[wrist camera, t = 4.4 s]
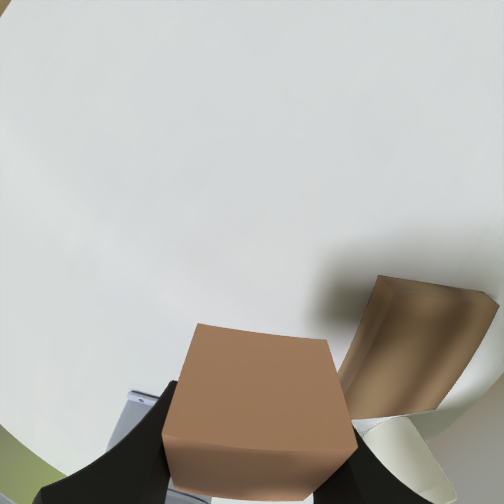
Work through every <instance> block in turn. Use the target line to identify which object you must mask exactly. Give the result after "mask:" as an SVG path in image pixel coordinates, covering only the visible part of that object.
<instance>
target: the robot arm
mask: <svg viewBox="0 0 504 504" xmlns="http://www.w3.org/2000/svg"><path fill="white" fill-rule="evenodd" d="M177 383H178V381H174V380H173V381H170V383H169V384H168V386H167V388H166V389H165V390H164V392H163V393H162V395H161V396H160V398H159V399H156V398H152V397H148V396H145V395H141V394H138V393H134V392H128V394H127V398H128V400H127V403H126V405H125V407H124V409H123V411H122V413H121V416H120V418H119V420H118V422H117V425H116V427H115V429H114V431H113V434H112V436H111V438H110V441H109V443H108V446H107V449H106V453H105V454H104V455H102V456H101V457H100V458H98V459H97V460H95V461H94V462H92V463H91V464H89V465H88V466H86V467H85V468H83V469H81V470H79V471H77V472H76V473H74V474H72V475H70V476H68V477H66V478H64V479H62V480H60V481H57V482H55V483H52V484H50V485H47V486H45V487H42V488H41V489H40V491H39V492H38V494H37V495H36V497H35V498H34V501H33V503H32V504H211V500H212V497H211V496H204V495H198V494H193V493H188V492H183V491H178V490H174V486H173V482H172V478H171V474H170V470H169V466H168V462H167V457H166V453H165V448H164V443H163V438H162V430H163V427H164V424H165V421H166V418H167V414H168V411H169V408H170V405H171V402H172V399H173V395H174V392H175V389H176V386H177ZM352 426H353V425H352ZM353 430H354V434H355V438H356V441H357V445H358V448H357V449H356V450H355V451H354V452H353V454H352V455H351V456H350V457H349V458H348V459H347V460H346V461H345V462H344V463H343V464H342V465H341V466H340V467H339V468H338V469H337V470H336V471H335V472H334V473H333V474H332V475H331V476H330V477H329V478H328V479H327V480H326V481H325V482H324V483H323V484H322V485H321V486H319V487H318V488H317V489H316V490H315V491H314V492H313V498H314V504H434V503H432V502H430V501H428V500H427V499H425V498H423V497H422V496H420V495H419V494H417V493H416V492H414V491H413V490H412V489H410V488H409V487H408V486H406V485H405V484H404V483H402V482H401V481H400V480H399V479H398V478H396V477H395V476H394V475H393V474H392V473H391V472H390V471H389V470H388V469H387V468H386V467H385V466H384V465H383V464H382V463H381V462H380V460H379V459H378V458H377V457H376V456H375V455H374V453H373V452H372V451H371V450H370V448H369V447H368V446H367V445H366V443H365V442H364V441H363V439H362V438H361V436H360V435H359V434H358V432H357V431H356V429H355V428H354V426H353ZM0 504H17V503H15V502H13V501H12V500H10V499H9V498H7V497H5V496H4V495H3V494H2V493H0Z"/></svg>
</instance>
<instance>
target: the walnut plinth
mask: <svg viewBox="0 0 504 504" xmlns="http://www.w3.org/2000/svg"><path fill="white" fill-rule="evenodd" d="M499 306H500V305H498V304H497V303H496V302H495V301H494V300H492V299H491V298H490V297H489V296H488V295H486V294H485V293H484V292H481V291H474V290H468V289H462V288H455V287H449V286H443V285H437V284H430V283H424V282H418V281H412V280H405V279H399V278H393V277H387V276H381V275H378V278H377V280H376V283H375V286H374V289H373V292H372V294H371V297H370V300H369V302H368V305H367V308H366V310H365V313H364V315H363V318H362V320H361V322H360V325H359V327H358V330H357V332H356V334H355V337H354V339H353V341H352V343H351V346H350V348H349V350H348V352H347V354H346V357H345V359H344V361H343V363H342V365H341V367H340V369H339V371H338V373H337V375H338V378H339V381H340V385H341V388H342V391H343V395H344V398H345V402H346V405H347V409H348V412H349V416H350V419H351V420H353V419H369V418H380V417H389V416H398V415H405V414H412V413H418V412H424V411H429V410H434V409H436V408H437V407H438V405H439V404H440V403H441V402H442V400H443V399H444V398H445V396H446V395H447V394H448V392H449V391H450V390H451V388H452V387H453V386H454V384H455V383H456V381H457V380H458V378H459V377H460V376H461V374H462V373H463V371H464V370H465V368H466V366H467V365H468V363H469V362H470V360H471V359H472V357H473V355H474V354H475V352H476V350H477V349H478V347H479V345H480V343H481V342H482V340H483V338H484V336H485V334H486V332H487V330H488V329H489V327H490V325H491V323H492V321H493V319H494V317H495V315H496V312H497V310H498V308H499Z"/></svg>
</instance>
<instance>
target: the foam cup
mask: <svg viewBox="0 0 504 504" xmlns="http://www.w3.org/2000/svg"><path fill="white" fill-rule="evenodd" d="M362 439H363V441H364V442H365V443H366V445H367V446H368V447H369V448H370V450H371V451H372V452H373V453H374V455H375V456H376V457H377V458H378V459H379V460H380V462H381V463H382V464H383V465H384V466H385V467H386V468H387V469H388V470H389V471H390V472H391V473H392V474H393V475H394V476H395V477H396V478H398V479H399V480H400V481H401V482H402V483H404V484H405V485H406V486H408V487H409V488H410V489H412V490H413V491H414V492H416V493H417V494H419V495H420V496H422V497H423V498H425V499H427V500H428V501H430V502H432V503H434V504H451V503H453V502H454V501H456V500H457V499H458V497H457V495H456V492H455V489H454V486H453V484H452V481H450V482H449V480H448V479H447V477H446V475H445V474H444V472H443V470H442V469H441V467H440V465H439V464H438V462H437V460H436V459H435V457H434V456H433V454H432V453H431V451H430V449H429V448H428V446H427V445H426V443H425V441H424V440H423V438H422V437H421V435H420V434H419V432H418V431H417V429H416V428H415V426H414V424H413V423H412V421H410V419H409V417H403V416H401V417H397V418H392V419H389V420H387V421H385V422H382V423H380V424H378V425H376V426H375V427H373V428H372V429H370V430H369V431H368V432H367V433H366V434H365V435H364V436H363V437H362Z"/></svg>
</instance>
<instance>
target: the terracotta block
mask: <svg viewBox="0 0 504 504" xmlns="http://www.w3.org/2000/svg"><path fill="white" fill-rule="evenodd" d="M162 438H163V443H164V448H165V453H166V457H167V462H168V466H169V470H170V474H171V478H172V482H173V486H174V490H178V491H183V492H188V493H193V494H198V495H204V496H211V497H218V498H227V499H237V500H251V501H303V500H304V499H306V498H307V497H308V496H309V495H310V494H312V493H313V492H314V491H315V490H316V489H317V488H318V487H319V486H321V485H322V484H323V483H324V482H325V481H326V480H327V479H328V478H329V477H330V476H331V475H332V474H333V473H334V472H335V471H336V470H337V469H338V468H339V467H340V466H341V465H342V464H343V463H344V462H345V461H346V460H347V459H348V458H349V457H350V456H351V455H352V454H353V452H354V451H355V450H356V449H357V448H358V445H357V441H356V438H355V434H354V430H353V426H352V423H351V419H350V416H349V412H348V409H347V405H346V402H345V398H344V395H343V391H342V388H341V385H340V381H339V378H338V375H337V372H336V368H335V365H334V362H333V359H332V356H331V352H330V349H329V346H328V343H327V340H321V339H309V338H299V337H289V336H280V335H272V334H264V333H256V332H249V331H242V330H235V329H229V328H222V327H216V326H210V325H205V324H199V323H198V324H197V327H196V329H195V332H194V335H193V338H192V341H191V344H190V347H189V350H188V353H187V356H186V359H185V362H184V365H183V368H182V371H181V374H180V377H179V380H178V383H177V386H176V389H175V392H174V395H173V399H172V402H171V405H170V408H169V411H168V414H167V418H166V421H165V424H164V427H163V430H162Z"/></svg>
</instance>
